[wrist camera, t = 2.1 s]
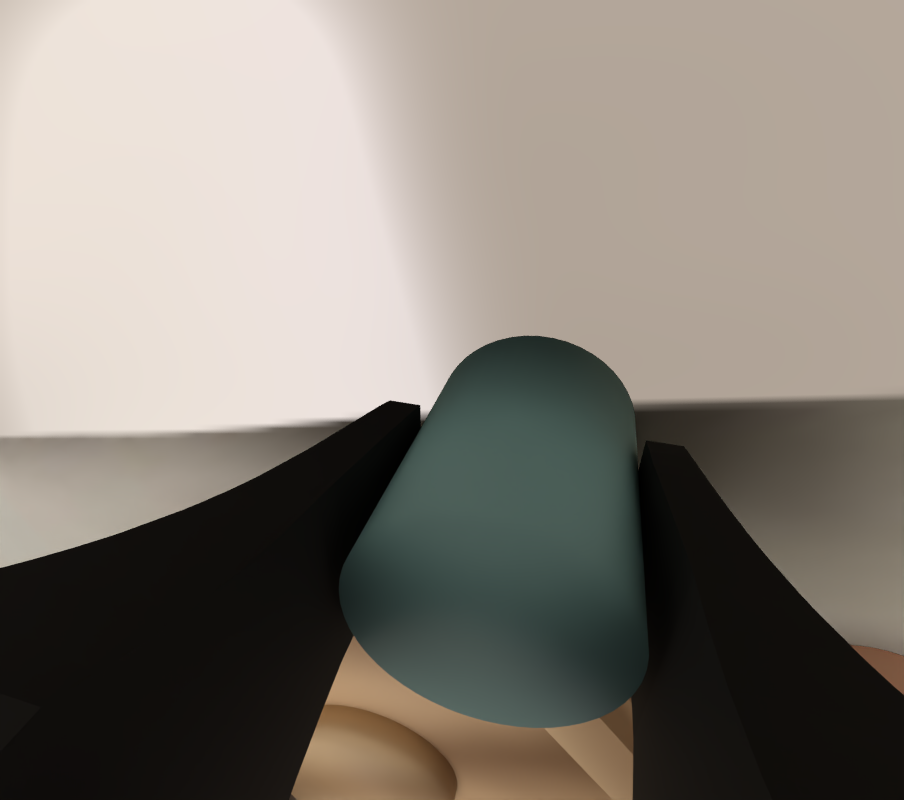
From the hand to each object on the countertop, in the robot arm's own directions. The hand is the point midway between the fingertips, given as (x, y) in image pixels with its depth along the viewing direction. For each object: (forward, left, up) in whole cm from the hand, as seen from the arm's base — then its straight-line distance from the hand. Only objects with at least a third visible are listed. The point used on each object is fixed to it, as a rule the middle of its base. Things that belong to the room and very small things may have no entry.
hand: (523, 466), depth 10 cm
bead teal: (0, 0, -1) cm, 1 cm away
